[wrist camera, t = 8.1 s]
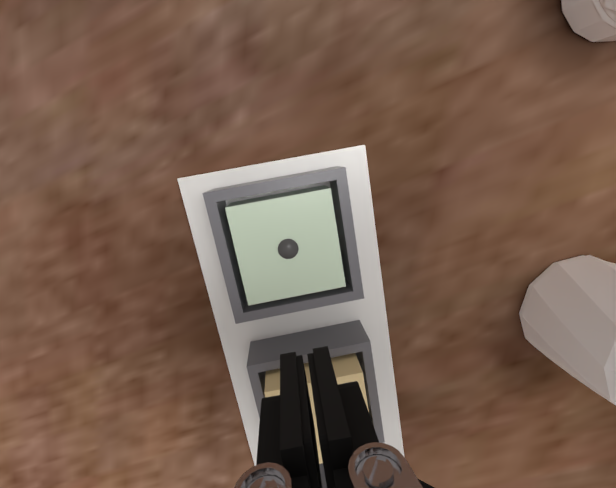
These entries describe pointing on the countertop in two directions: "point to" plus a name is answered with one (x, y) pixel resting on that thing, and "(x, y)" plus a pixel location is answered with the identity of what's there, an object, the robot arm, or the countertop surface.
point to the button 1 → (286, 244)
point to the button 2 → (344, 371)
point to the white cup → (591, 18)
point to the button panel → (305, 308)
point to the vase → (576, 320)
